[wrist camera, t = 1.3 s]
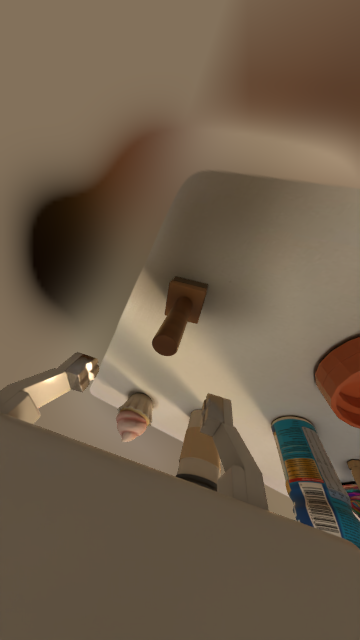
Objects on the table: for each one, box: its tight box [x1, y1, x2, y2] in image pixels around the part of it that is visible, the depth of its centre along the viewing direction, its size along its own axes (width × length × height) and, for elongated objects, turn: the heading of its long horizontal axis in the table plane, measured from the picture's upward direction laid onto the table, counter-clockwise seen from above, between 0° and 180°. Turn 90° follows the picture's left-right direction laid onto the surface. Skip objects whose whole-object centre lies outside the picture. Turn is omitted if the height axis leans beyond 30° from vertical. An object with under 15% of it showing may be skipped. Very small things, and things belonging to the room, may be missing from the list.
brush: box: [152, 276, 208, 356], centre depth 19 cm, size 5×5×12 cm
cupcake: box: [116, 393, 153, 442], centre depth 38 cm, size 9×9×10 cm
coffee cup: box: [175, 410, 221, 492], centre depth 34 cm, size 9×9×15 cm
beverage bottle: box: [271, 417, 360, 549], centre depth 26 cm, size 8×8×20 cm
